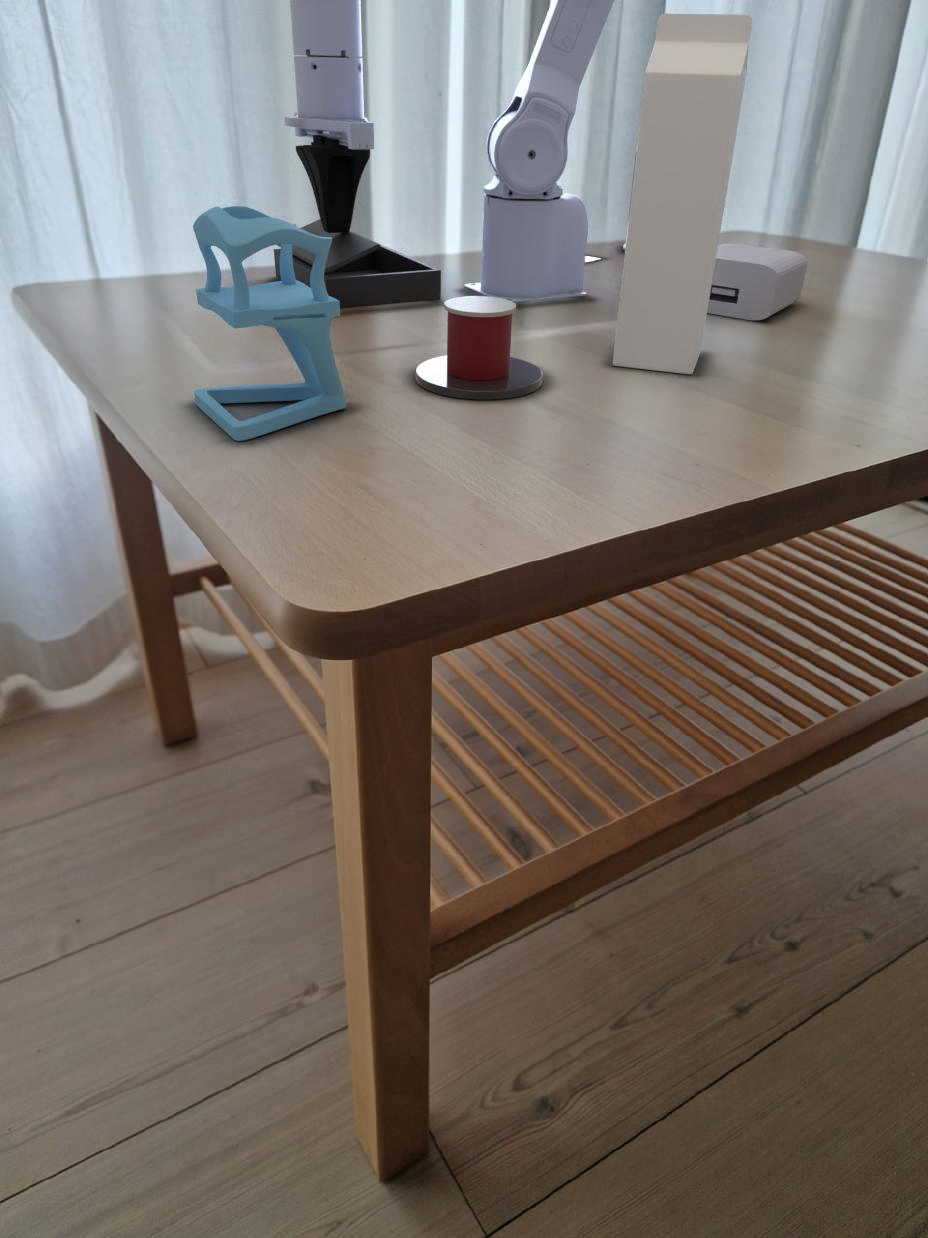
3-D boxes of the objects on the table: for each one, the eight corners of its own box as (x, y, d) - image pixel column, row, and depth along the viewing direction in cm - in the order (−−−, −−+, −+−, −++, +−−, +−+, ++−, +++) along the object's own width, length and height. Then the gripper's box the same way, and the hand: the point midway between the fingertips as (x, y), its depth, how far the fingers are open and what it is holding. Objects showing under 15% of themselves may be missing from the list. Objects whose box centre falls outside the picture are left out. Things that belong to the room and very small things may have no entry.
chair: (364, 419, 56) (356, 209, 49) (235, 442, 52) (209, 218, 45) (313, 385, 61) (300, 192, 55) (193, 403, 57) (165, 199, 51)
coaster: (503, 355, 68) (503, 348, 68) (566, 390, 62) (567, 381, 61) (395, 369, 65) (395, 360, 64) (450, 406, 58) (450, 397, 58)
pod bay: (327, 314, 78) (325, 278, 76) (276, 280, 89) (273, 248, 87) (440, 304, 82) (441, 270, 81) (378, 273, 93) (377, 242, 92)
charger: (817, 294, 90) (767, 323, 79) (729, 281, 94) (671, 307, 83) (828, 244, 87) (779, 266, 77) (737, 233, 91) (679, 253, 81)
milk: (624, 346, 72) (663, 15, 60) (701, 354, 70) (756, 16, 58) (611, 366, 67) (650, 10, 55) (693, 375, 65) (751, 11, 53)
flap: (326, 273, 76) (325, 268, 76) (274, 244, 87) (273, 239, 87) (381, 248, 77) (379, 243, 77) (322, 222, 88) (321, 218, 88)
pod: (491, 358, 66) (494, 293, 63) (525, 377, 62) (529, 308, 59) (431, 365, 64) (431, 299, 61) (463, 385, 60) (464, 315, 57)
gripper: (256, 54, 79) (271, 221, 86) (311, 56, 68) (322, 247, 75) (332, 56, 81) (340, 218, 89) (396, 58, 71) (398, 242, 78)
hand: (336, 231), depth 82 cm, fingers closed
